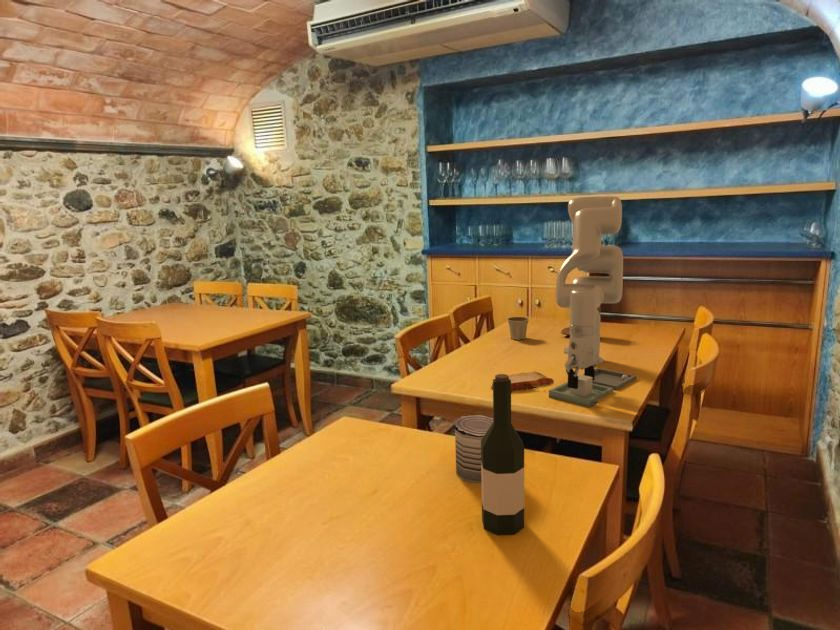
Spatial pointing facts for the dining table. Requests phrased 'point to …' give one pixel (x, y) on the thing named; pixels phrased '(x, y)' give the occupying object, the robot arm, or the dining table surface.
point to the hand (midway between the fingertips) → (581, 383)
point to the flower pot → (518, 327)
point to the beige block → (583, 386)
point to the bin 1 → (590, 400)
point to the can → (470, 446)
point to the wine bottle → (502, 467)
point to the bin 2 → (612, 378)
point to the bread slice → (527, 381)
